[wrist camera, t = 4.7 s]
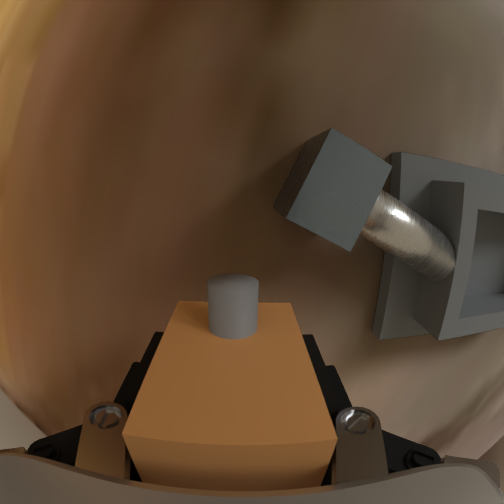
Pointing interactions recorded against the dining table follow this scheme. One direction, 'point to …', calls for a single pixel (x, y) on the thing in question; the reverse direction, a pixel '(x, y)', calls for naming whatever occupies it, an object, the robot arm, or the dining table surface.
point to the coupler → (231, 398)
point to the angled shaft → (359, 205)
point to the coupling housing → (466, 247)
